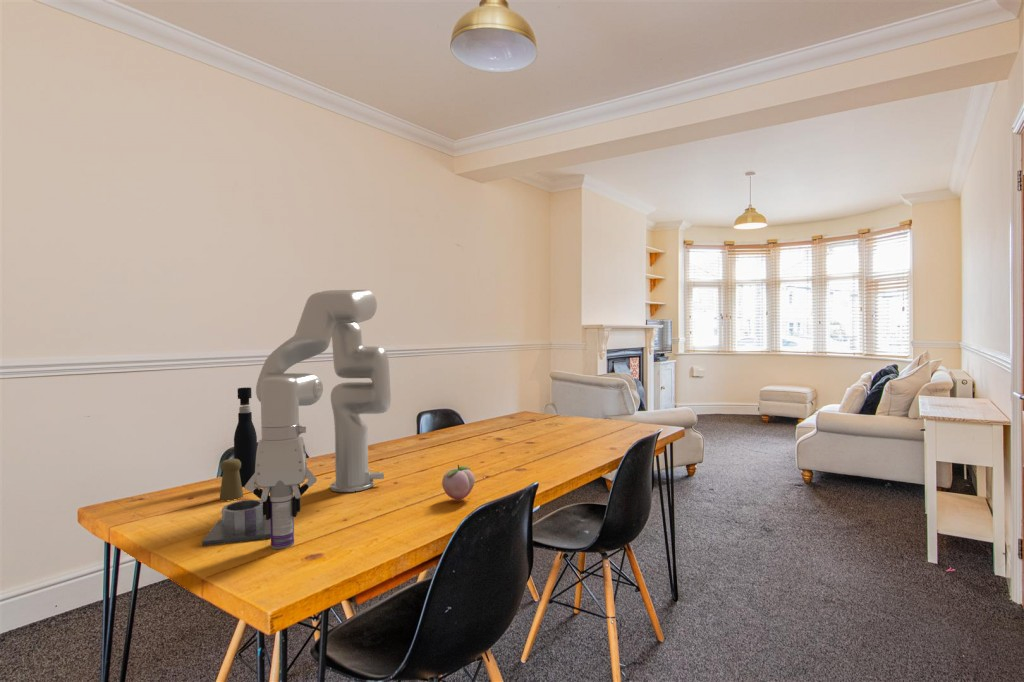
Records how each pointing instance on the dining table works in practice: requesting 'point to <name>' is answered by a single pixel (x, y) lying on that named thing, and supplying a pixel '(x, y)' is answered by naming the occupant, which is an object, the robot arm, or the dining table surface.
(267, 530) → the duct collar
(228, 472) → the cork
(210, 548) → the dining table surface
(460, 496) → the decorative fruit
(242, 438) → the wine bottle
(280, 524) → the container
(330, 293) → the robot arm
